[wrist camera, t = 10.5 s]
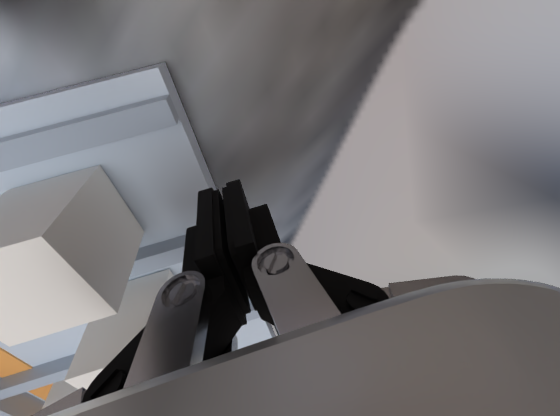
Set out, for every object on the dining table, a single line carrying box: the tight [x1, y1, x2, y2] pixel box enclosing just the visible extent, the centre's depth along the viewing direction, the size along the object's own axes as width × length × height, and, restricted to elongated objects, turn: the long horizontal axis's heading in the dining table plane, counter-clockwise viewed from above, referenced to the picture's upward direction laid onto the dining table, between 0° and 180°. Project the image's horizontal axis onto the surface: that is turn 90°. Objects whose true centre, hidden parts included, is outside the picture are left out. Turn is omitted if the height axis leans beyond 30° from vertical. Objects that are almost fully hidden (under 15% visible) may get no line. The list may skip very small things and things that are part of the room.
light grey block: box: [0, 165, 144, 347], centre depth 11 cm, size 4×4×5 cm
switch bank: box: [0, 62, 276, 416], centre depth 17 cm, size 19×24×4 cm
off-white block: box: [64, 269, 174, 390], centre depth 15 cm, size 4×4×5 cm
